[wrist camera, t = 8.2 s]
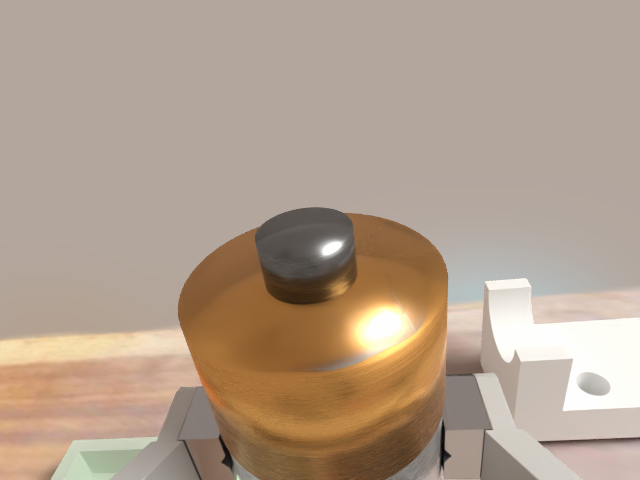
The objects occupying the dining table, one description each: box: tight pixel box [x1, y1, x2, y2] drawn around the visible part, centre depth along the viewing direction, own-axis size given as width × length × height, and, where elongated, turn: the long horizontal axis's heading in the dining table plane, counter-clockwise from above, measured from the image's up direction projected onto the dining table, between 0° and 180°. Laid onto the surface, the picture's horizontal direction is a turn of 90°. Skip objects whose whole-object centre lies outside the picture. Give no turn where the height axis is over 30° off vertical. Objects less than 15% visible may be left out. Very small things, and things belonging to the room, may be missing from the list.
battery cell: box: [178, 207, 448, 480], centre depth 11 cm, size 5×5×12 cm
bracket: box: [480, 278, 640, 441], centre depth 28 cm, size 13×7×8 cm, turn 87°
